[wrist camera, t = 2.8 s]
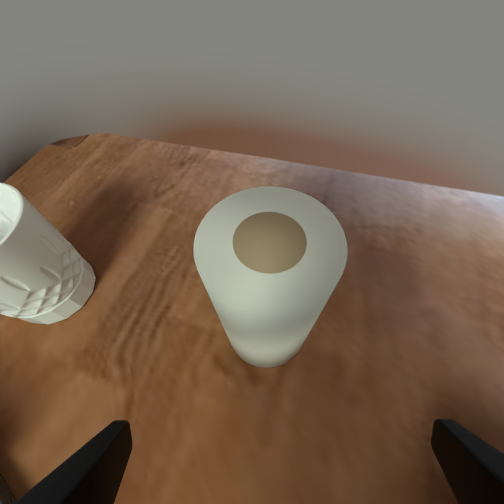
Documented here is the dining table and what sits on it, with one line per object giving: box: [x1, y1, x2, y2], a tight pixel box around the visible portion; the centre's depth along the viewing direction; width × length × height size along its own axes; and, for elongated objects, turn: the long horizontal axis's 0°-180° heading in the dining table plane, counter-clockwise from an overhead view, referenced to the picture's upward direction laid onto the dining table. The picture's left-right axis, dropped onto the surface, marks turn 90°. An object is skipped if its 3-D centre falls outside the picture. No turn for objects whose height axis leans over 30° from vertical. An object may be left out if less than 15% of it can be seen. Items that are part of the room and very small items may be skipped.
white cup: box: [0, 183, 96, 324], centre depth 21 cm, size 8×8×10 cm
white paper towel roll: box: [193, 186, 347, 368], centre depth 17 cm, size 7×7×13 cm
